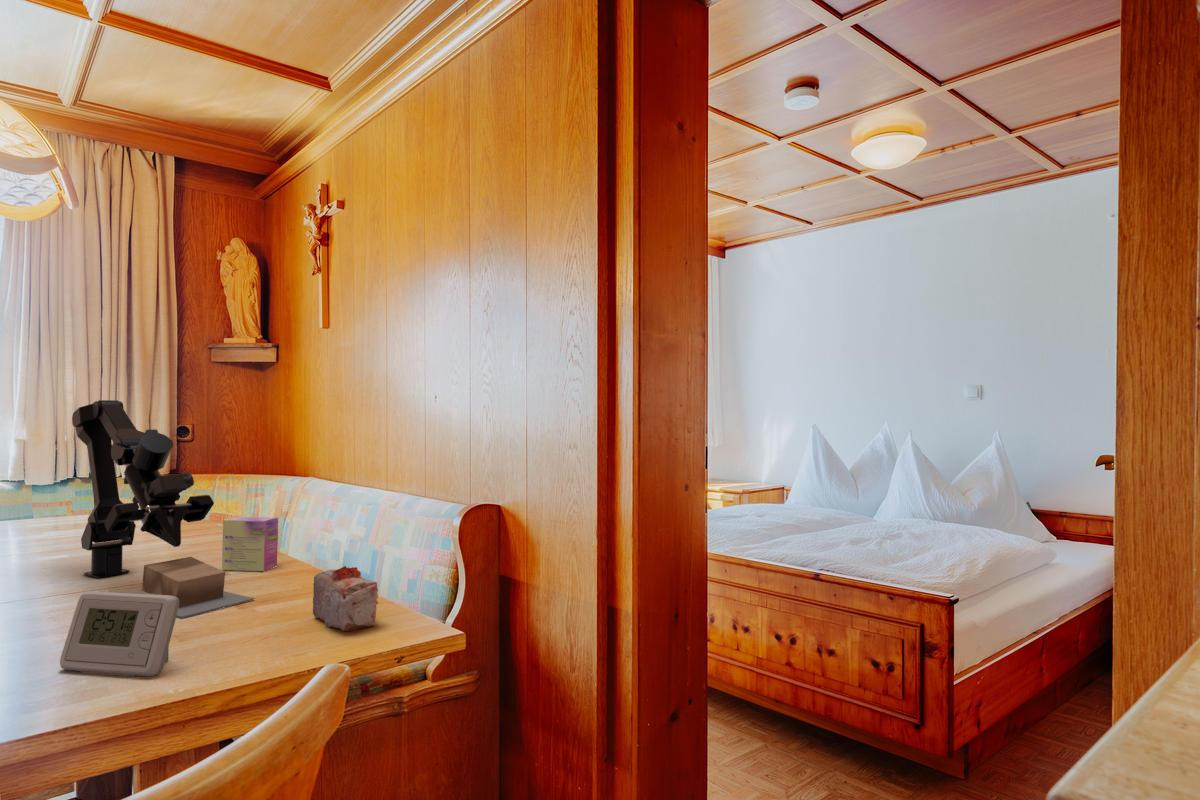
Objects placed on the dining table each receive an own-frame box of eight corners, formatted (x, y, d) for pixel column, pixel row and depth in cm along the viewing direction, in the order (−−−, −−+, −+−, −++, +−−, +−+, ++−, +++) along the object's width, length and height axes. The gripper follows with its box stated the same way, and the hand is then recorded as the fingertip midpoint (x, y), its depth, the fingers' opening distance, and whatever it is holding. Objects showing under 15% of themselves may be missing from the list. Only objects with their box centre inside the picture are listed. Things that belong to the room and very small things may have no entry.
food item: (384, 626, 121) (384, 569, 121) (340, 637, 115) (341, 578, 116) (346, 610, 131) (347, 557, 131) (304, 619, 125) (305, 564, 125)
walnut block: (144, 565, 136) (178, 581, 130) (190, 556, 143) (225, 572, 137) (141, 590, 136) (176, 608, 130) (188, 580, 144) (222, 596, 138)
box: (278, 566, 166) (278, 516, 166) (264, 572, 160) (264, 520, 160) (236, 565, 167) (237, 515, 167) (221, 570, 161) (222, 519, 161)
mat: (136, 606, 132) (136, 598, 132) (209, 589, 144) (209, 582, 144) (181, 618, 125) (182, 610, 125) (254, 600, 137) (254, 592, 137)
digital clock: (52, 671, 100) (53, 597, 100) (115, 651, 108) (116, 582, 109) (131, 688, 94) (132, 609, 94) (191, 665, 103) (192, 592, 103)
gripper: (113, 462, 133) (143, 525, 127) (209, 456, 149) (240, 512, 143) (91, 500, 136) (120, 564, 131) (187, 491, 153) (217, 547, 147)
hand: (178, 545), depth 138 cm, fingers closed
